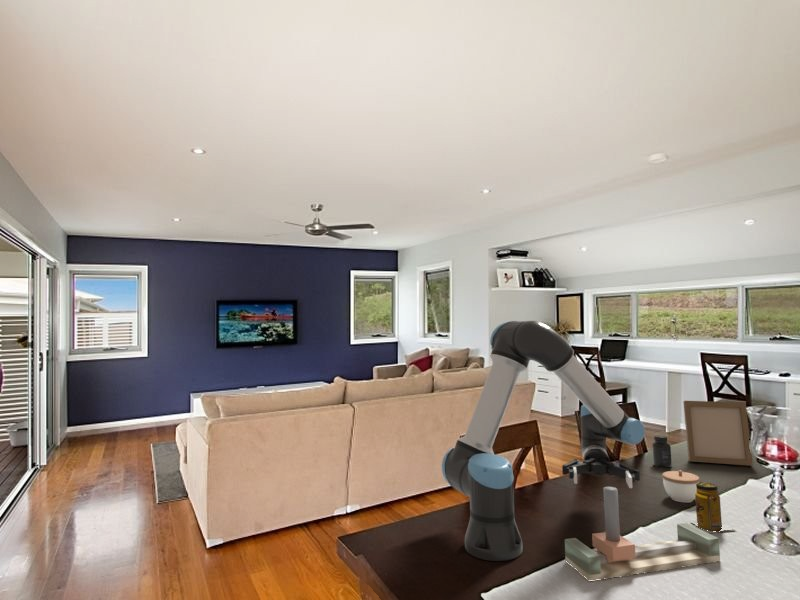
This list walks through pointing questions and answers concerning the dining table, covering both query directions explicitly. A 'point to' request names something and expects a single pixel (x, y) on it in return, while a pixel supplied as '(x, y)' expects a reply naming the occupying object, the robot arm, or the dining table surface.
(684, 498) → the lidded jar
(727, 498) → the dining table surface
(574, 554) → the rail track
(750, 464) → the photo frame
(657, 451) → the supplement bottle
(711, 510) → the condiment
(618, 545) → the carriage
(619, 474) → the robot arm
